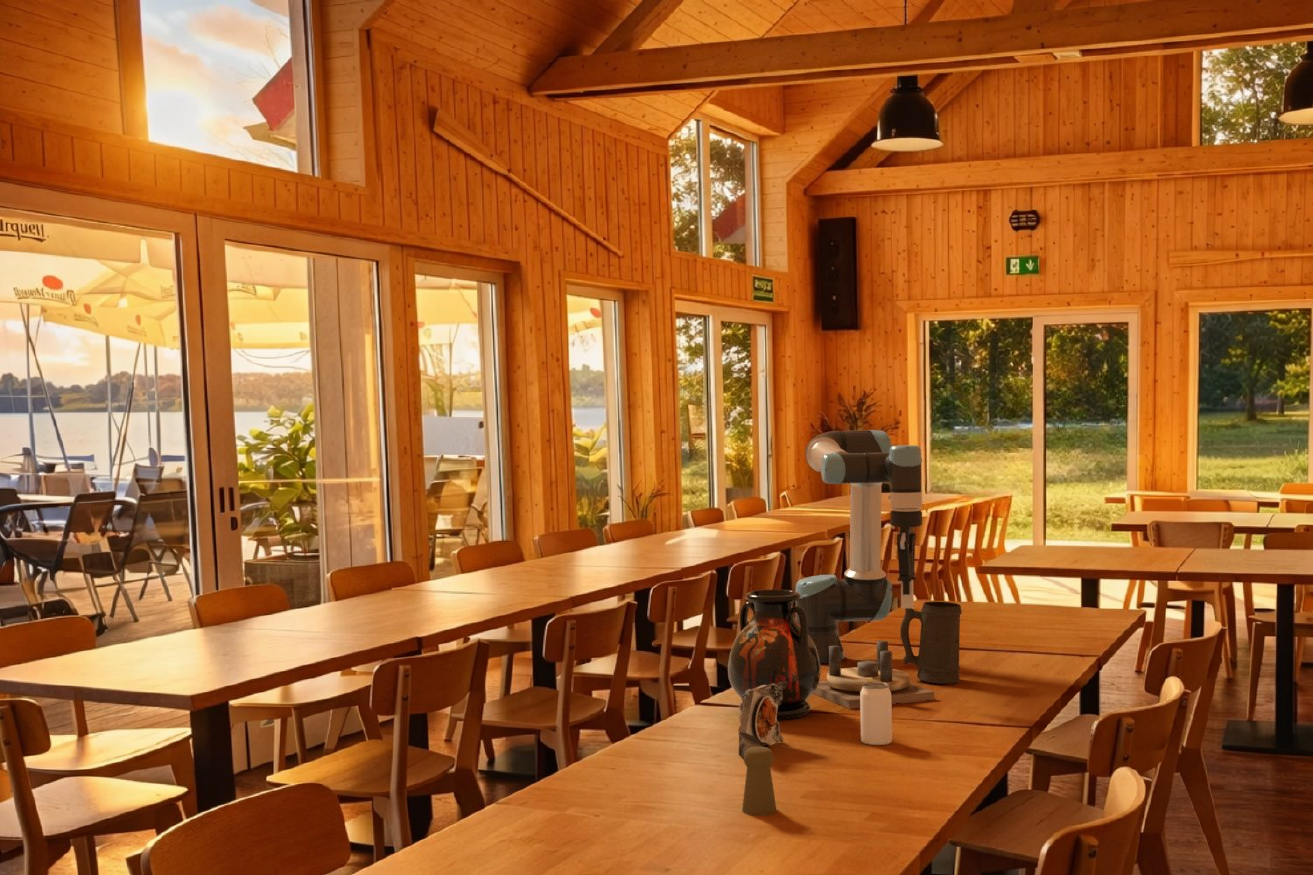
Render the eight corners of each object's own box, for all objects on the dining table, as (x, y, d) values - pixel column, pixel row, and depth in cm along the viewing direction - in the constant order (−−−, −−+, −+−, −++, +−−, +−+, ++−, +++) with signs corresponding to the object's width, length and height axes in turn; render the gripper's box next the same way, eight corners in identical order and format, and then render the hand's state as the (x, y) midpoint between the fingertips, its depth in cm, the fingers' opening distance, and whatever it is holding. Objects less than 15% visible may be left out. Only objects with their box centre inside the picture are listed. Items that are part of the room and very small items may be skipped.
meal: (757, 759, 261) (756, 694, 260) (738, 757, 263) (737, 692, 263) (789, 742, 273) (788, 681, 273) (771, 740, 276) (770, 679, 275)
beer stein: (959, 676, 338) (958, 600, 338) (965, 685, 327) (964, 606, 327) (899, 676, 340) (898, 600, 339) (903, 685, 329) (902, 606, 329)
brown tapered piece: (739, 805, 230) (738, 744, 230) (773, 804, 230) (772, 742, 230) (744, 816, 224) (743, 752, 224) (779, 814, 224) (778, 751, 224)
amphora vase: (709, 714, 300) (707, 594, 300) (766, 698, 316) (764, 584, 316) (783, 728, 286) (781, 602, 285) (840, 711, 301) (838, 591, 301)
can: (894, 739, 274) (893, 682, 274) (889, 746, 268) (888, 689, 268) (863, 737, 277) (862, 681, 276) (858, 744, 270) (857, 687, 270)
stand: (805, 690, 325) (804, 680, 325) (885, 682, 333) (885, 673, 333) (849, 708, 303) (849, 699, 303) (934, 699, 311) (934, 690, 311)
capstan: (879, 672, 331) (879, 637, 331) (926, 686, 313) (926, 649, 313) (811, 679, 323) (811, 643, 323) (855, 695, 305) (855, 657, 305)
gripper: (895, 507, 318) (896, 602, 319) (885, 511, 306) (886, 611, 307) (925, 507, 316) (927, 603, 317) (917, 512, 304) (918, 612, 304)
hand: (907, 607), depth 312 cm, fingers closed
